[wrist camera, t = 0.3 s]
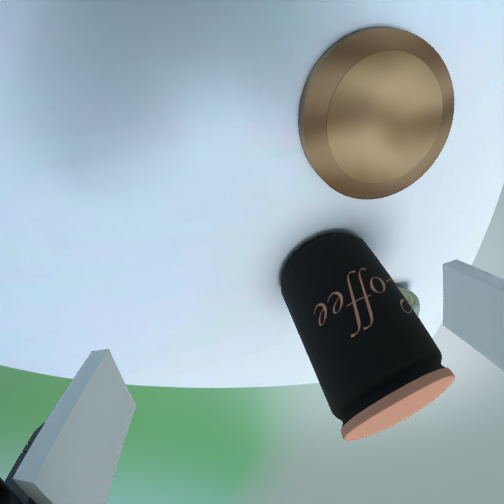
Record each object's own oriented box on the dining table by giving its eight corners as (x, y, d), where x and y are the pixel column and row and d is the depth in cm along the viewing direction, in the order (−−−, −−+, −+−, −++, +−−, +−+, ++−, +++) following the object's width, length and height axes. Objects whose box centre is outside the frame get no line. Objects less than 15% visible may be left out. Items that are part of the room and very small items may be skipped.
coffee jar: (375, 222, 33) (476, 359, 20) (352, 290, 40) (420, 412, 27) (282, 234, 30) (370, 411, 17) (272, 306, 37) (329, 451, 24)
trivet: (282, 36, 18) (289, 37, 18) (446, 28, 19) (456, 31, 18) (309, 212, 30) (314, 220, 29) (439, 172, 30) (446, 178, 29)
